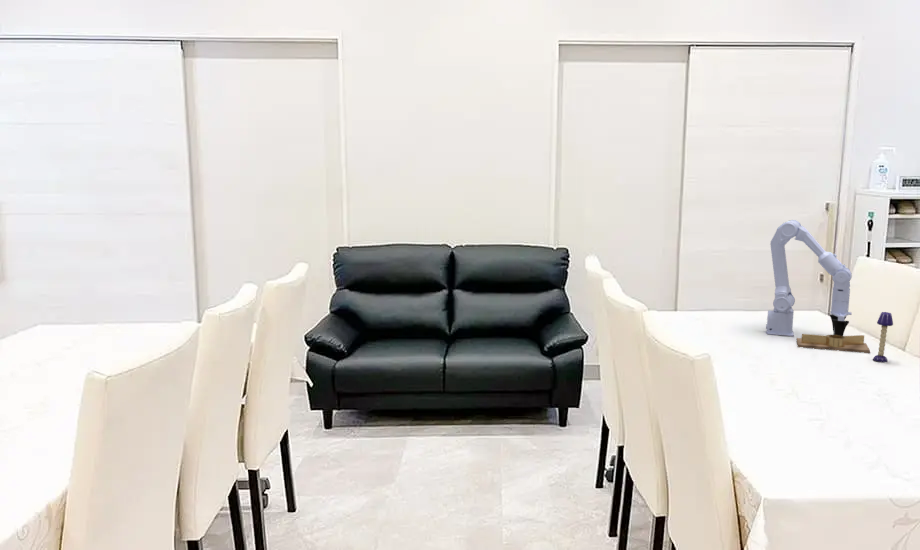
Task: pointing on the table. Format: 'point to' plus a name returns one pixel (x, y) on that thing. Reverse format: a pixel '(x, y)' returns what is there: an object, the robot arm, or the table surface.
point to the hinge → (833, 340)
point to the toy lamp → (883, 334)
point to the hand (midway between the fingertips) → (837, 335)
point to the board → (849, 348)
